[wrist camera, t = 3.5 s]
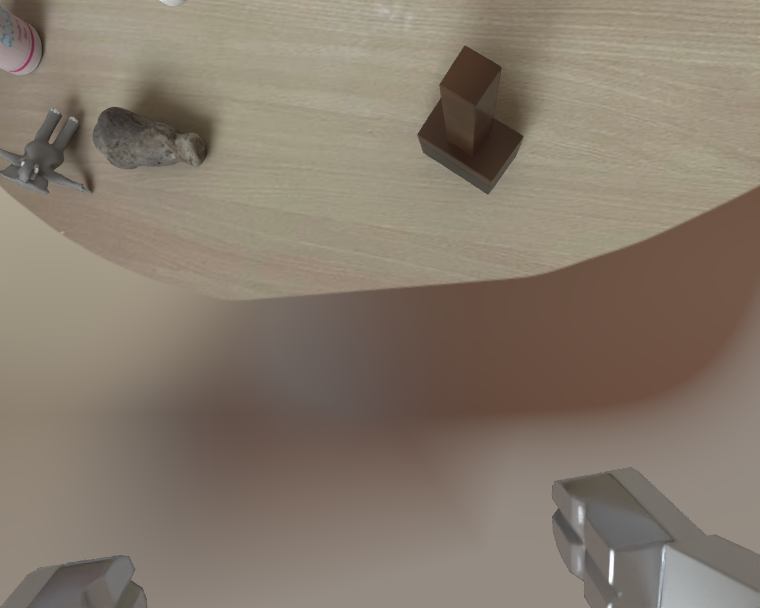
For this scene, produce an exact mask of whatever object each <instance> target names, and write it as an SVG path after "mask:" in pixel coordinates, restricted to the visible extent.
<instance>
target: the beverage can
mask: <svg viewBox="0 0 760 608" xmlns="http://www.w3.org/2000/svg"><path fill="white" fill-rule="evenodd" d="M41 56H42V43H41V40H40V37H39V35H38V33H37V31H36V30H35V28H34V27H33V26H32V25H30V24H29V23H27V22H25V21H24V20H22V19H20V18H18V17H17V16H15V15H13V14H11V13H10V12H8V11H6V10H5V9H3V8H1V7H0V68H2V69H4V70H6V71H8V72H11V73H13V74H16V75H24V74H27V73H30V72H32V71H33V70H34V69H35V68H36V67H37V66H38V64H39V62H40V59H41Z"/></svg>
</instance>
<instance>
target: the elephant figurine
mask: <svg viewBox="0 0 760 608" xmlns="http://www.w3.org/2000/svg"><path fill="white" fill-rule="evenodd" d="M61 117H62V115H61V113H60V112H59V111H57V110H56V109H53V108H51V109H50V111H49V113H48V115H47V118H46V120H45V122H44V123H43V125H42V126H41V128H40V130H39V131H38V132H37V134H36V136H35V140H34V141H32V142H30V143H28V144H27V145H26V146H25V154H24V155H23V156H21V155H17V154H14V153H11V152H8V151H5V150H2V149H0V155H1V156H3V157H4V158H5V159H7V160H8V161H10V162H11V163H13V164H14V165H13V164H11V165H10V166H9V167H7V168H6V169H5V170H3V171H0V175H2V176H3V177H5V178H7V179H10V180H13V181H15V182H16V183H17V184H18V185H20V186H22V187H24V188H27V189H30V190H33V189H34V190H36V191H38V192H40V193H44V194H48V193H49V191H48V189H47V186H48V182H54V183H58V184H61V185H67V186H71V187H74V188H76V189H78V190H79V191H82V192H87V193H90V194H91V193H92V192H91V191H90V190H87V189H85V188H84V187H83V184H79V183H76V182H73V181H71V180H69V179H68V178H66V177H64V176H63V175H61V174H58V173H57V172H55V171H54V170H55V169H56V168H57V167H59V166H60V165H61V164H62V163H63V161H64V156H63V152H64V150H65V149H66V147H67V144H68V142H69V140H70V139H71V137H72V135H73V134H74V132H75V131H76V130H77V128H78V127H79V125H80V123H79V121H78V120H77V119H75V118H74V117H73V118H72V117H71V116H70V117H69V118H68V120H67V122H66V124H65V126H64V127H63V129H62V130H61V132H60V134H59V135H58V137H57V138H56V140H55V141H54V143H53V144H49V143H48V141H49V139H50V136H51V134H52V133H53V131H54V129H55V127H56V125H57V124H58V122H59V120H60V119H61ZM15 165H16V166H15Z"/></svg>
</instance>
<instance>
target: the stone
mask: <svg viewBox="0 0 760 608" xmlns="http://www.w3.org/2000/svg"><path fill="white" fill-rule="evenodd" d="M93 141H94V144H95V146H96V148H97V149H98V150H99V151H100V152H101V153H102V154H104V155H105V157H106V158H107V159H108V160H109V161H110V163H111V164H113V165H114V166H116V167H118V168H121V169H134V168H136V167H138V166H166V165H172V164H175V163H177V162H180V161H182V162H186V163H188V164H190V165H193V166H199V165H201V164H202V163H203V161H204V159H205V154H206V153H205V146H204V143H203V141H202V139H201V138H200V137H199V135H197V134H195V133H187V134H182V135H181V134H180V133H179V132H178V131H177V130H176V129H175V128H173V127H171V126H170V125H167V124H164V123H161V122H156V121H152V120H148V119H145V118H143V117H141V116H138V115H136V114H134V113H132V112H131V111H129V110H126V109H123V108H119V107H111V108H108V109H106V110H105V111H103V112H102V113H101V114H100V116H99V118H98V123H97V125H96V126H95V128H94V131H93Z"/></svg>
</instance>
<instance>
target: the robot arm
mask: <svg viewBox="0 0 760 608" xmlns="http://www.w3.org/2000/svg"><path fill="white" fill-rule="evenodd" d="M552 499H553V500H554V502H555V503H556V505H557V506H558V509H557V511H556V512H555V513H554V515H553V516H552V523H553V533H554V537H555V541H556V544H557V547H558V550H559V552H560V554H561V557H562V559H563V561H564V563H565V564H566V566H567V568H568V569H569V571H570V572H571V573H572V574H573V575H575V576H576V577H578V578H579V579H581V580H583V581H584V597H585V599H586V600H587V602H588V604H589V605H590V607H591V608H760V555H759V554H757V553H755V552H753V551H751V550H749V549H746V548H744V547H742V546H740V545H738V544H735V543H733V542H731V541H729V540H727V539H725V538H722V537H720V536H718V535H709V536H707V535H706V534H704V532H702V531H701V530H700V529H699V528H698V527H697V526H696V525H695V524H694V523H693V522H692V521H691V520H690V519H689V518H687V516H685V515H684V514H683V513H682V512H681V511H680V510H679V509H678V508H677V507H676V506H675V505H674V504H673V503H672V502H670V500H668V499H667V498H666V497H665V496H664V495H663V494H662V493H661V492H660V491H659V490H658V489H657V488H656V487H655V486H653V484H651V483H650V482H649V481H648V480H647V479H646V478H645V477H644V476H643V475H642V474H641V473H640V472H639V471H637V470H635V469H633V468H631V467H629V468H623V469H618V470H612V471H607V472H604V473H598V474H591V475H586V476H580V477H575V478H569V479H564V480H558V481H554V484H553V486H552ZM134 571H135V568H134V566H133V564H132V562H131V559H130V557H129V556H122V555H119V556H112V557H105V558H99V559H91V560H84V561H78V562H70V563H67V564H61V565H54V566H46V567H40V568H38V569H36V570H35V571H33V572H31V573H30V574H28V575H27V576H26V577H25V579H24V580H23V581H22V582H21V583H20V585H19V586H18V587H17V588H16V589H15V591H14V592H13V593H12V594H11V595H10V596H9V597H8V599H7V600H6V601H5V602H4V603H3V605H2V606H1V607H0V608H147V599H146V596H145V593H144V590H143V588H142V587H141V586H139V585H137V584H136V583H134V582H133V581H131V578H132V576H133V573H134Z"/></svg>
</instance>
